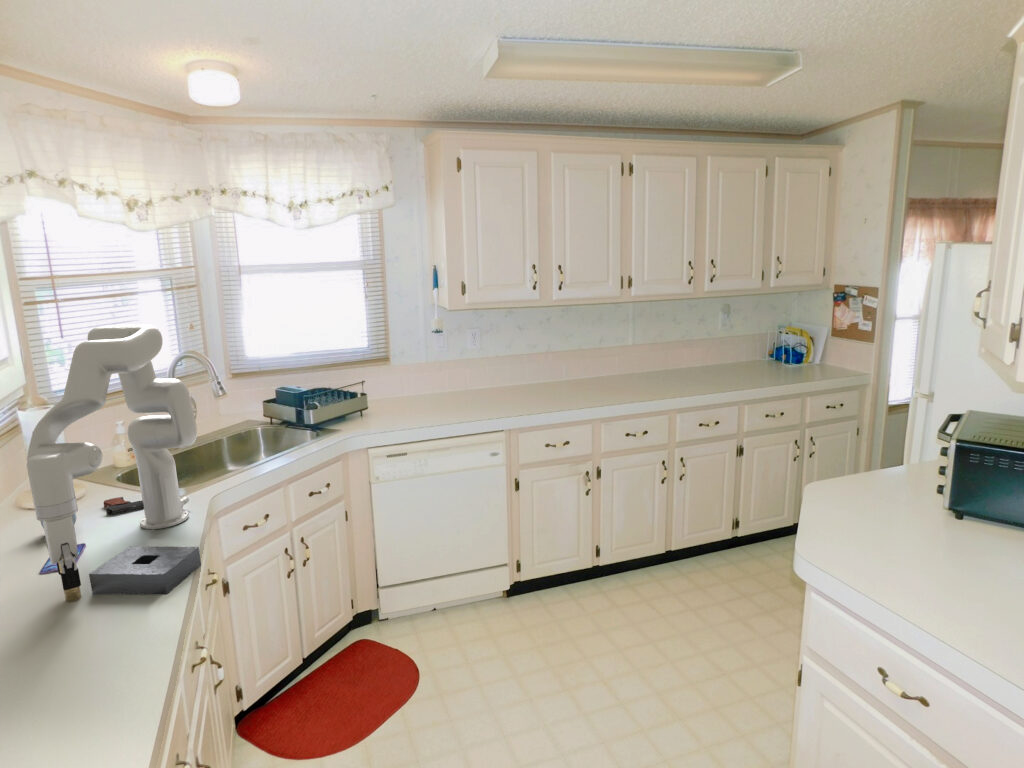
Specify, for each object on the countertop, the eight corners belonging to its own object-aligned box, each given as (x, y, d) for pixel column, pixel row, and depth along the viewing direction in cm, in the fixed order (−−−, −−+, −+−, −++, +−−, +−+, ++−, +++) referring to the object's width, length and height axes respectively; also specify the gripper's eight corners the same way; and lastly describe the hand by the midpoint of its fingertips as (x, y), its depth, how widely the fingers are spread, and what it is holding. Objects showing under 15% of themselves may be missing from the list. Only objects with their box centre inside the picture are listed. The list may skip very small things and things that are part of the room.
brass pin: (72, 595, 147) (64, 554, 145) (84, 595, 147) (77, 554, 145) (62, 601, 144) (54, 560, 142) (74, 602, 144) (67, 560, 142)
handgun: (159, 489, 210) (165, 498, 201) (160, 496, 211) (165, 506, 201) (102, 499, 201) (105, 509, 192) (103, 507, 202) (106, 517, 192)
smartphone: (37, 573, 157) (54, 548, 171) (38, 577, 157) (55, 551, 171) (73, 566, 160) (86, 542, 173) (73, 569, 160) (87, 545, 174)
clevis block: (132, 564, 161) (129, 546, 160) (201, 565, 159) (198, 546, 158) (92, 593, 147) (88, 573, 146) (166, 594, 145) (163, 574, 144)
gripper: (32, 502, 145) (45, 572, 148) (39, 524, 132) (53, 600, 135) (72, 493, 150) (84, 561, 153) (82, 514, 137) (95, 588, 140)
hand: (69, 580), depth 144 cm, fingers open, 9 cm apart
